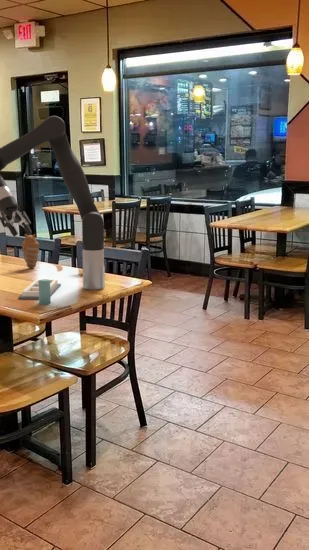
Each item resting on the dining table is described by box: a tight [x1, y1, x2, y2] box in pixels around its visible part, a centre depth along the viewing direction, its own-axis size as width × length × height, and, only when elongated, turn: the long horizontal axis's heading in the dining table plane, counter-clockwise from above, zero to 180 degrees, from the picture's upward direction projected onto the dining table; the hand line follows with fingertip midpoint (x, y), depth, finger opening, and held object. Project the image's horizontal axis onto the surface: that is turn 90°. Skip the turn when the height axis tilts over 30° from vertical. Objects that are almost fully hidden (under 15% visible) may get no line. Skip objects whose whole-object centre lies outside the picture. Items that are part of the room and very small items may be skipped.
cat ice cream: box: [21, 233, 40, 269], centre depth 274 cm, size 9×8×18 cm
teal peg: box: [38, 279, 52, 305], centre depth 208 cm, size 4×4×9 cm
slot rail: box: [18, 278, 62, 300], centre depth 226 cm, size 12×25×3 cm, turn 178°
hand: (23, 234), depth 212 cm, fingers open, 8 cm apart
